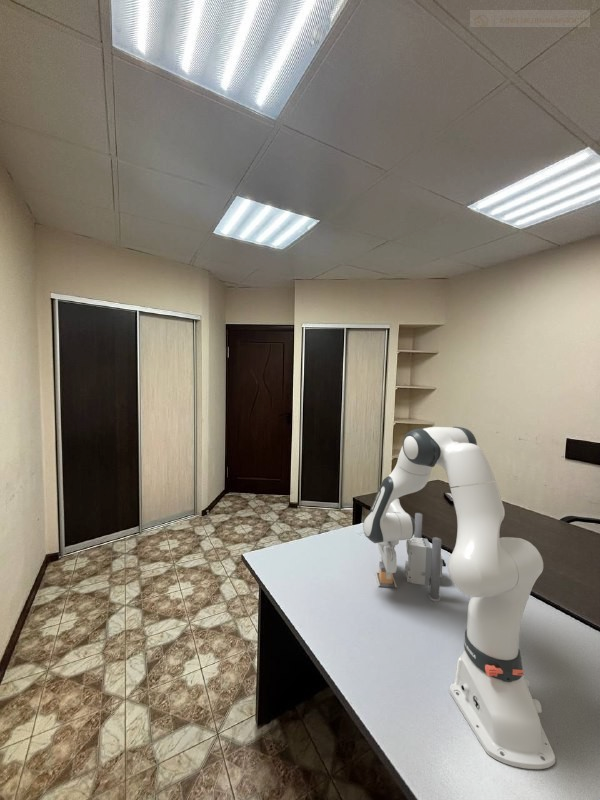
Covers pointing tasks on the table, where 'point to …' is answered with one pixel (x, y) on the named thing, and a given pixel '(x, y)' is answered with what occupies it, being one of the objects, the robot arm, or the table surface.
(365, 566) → the table surface
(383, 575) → the orange and grey block
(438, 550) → the cord posts
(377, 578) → the mat
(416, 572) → the circuit breaker
